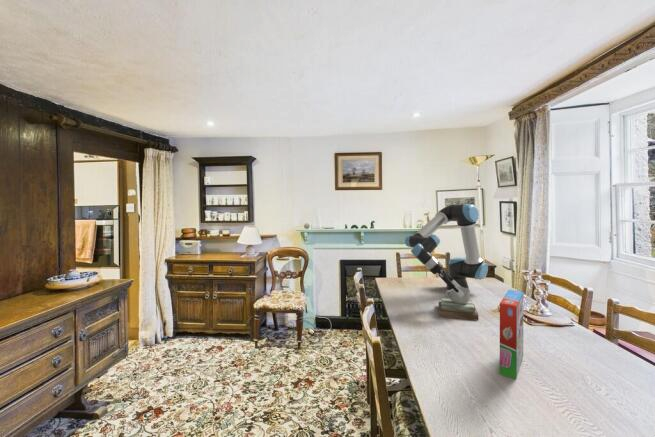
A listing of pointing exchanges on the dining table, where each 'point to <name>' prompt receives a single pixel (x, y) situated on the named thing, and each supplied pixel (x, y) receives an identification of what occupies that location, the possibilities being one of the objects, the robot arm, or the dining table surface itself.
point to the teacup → (456, 298)
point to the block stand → (457, 309)
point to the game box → (511, 333)
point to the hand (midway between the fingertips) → (461, 292)
